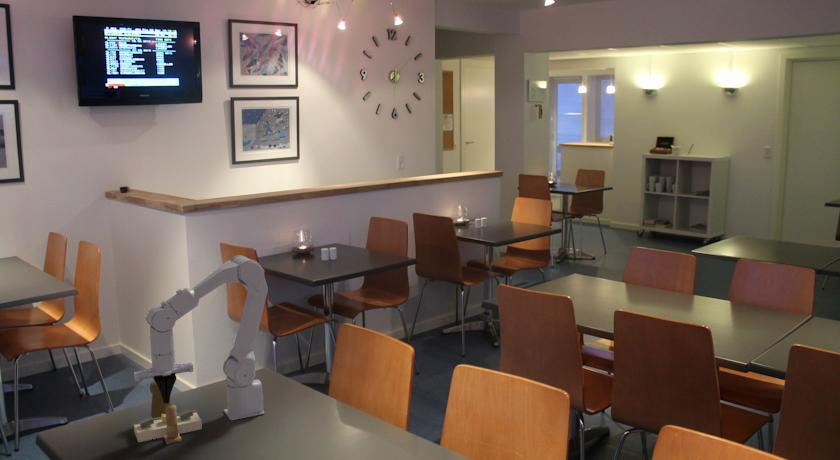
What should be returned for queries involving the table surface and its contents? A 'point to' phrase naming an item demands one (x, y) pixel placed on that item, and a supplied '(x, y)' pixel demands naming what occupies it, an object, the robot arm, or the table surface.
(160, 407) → the cork
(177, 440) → the oak post
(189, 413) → the rocker
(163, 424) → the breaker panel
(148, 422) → the rocker
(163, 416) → the rocker
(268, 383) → the table surface
